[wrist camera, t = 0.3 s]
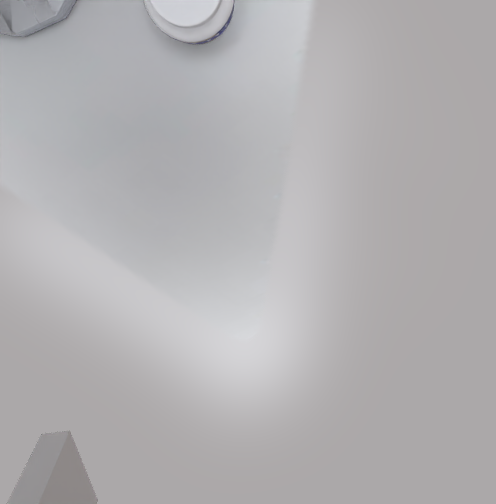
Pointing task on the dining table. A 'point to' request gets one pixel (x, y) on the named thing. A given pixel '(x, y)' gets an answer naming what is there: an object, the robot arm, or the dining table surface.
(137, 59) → the dining table surface
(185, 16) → the pill bottle
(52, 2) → the hub
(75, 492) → the robot arm
